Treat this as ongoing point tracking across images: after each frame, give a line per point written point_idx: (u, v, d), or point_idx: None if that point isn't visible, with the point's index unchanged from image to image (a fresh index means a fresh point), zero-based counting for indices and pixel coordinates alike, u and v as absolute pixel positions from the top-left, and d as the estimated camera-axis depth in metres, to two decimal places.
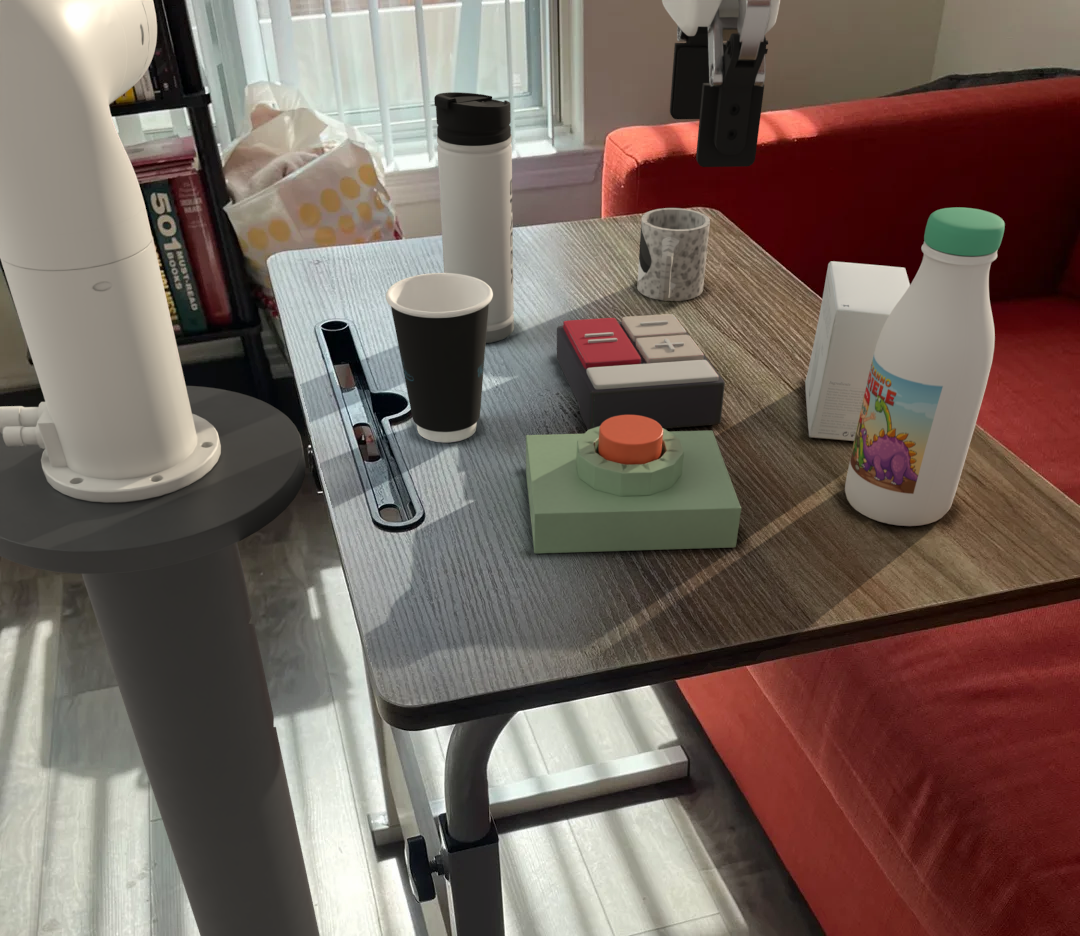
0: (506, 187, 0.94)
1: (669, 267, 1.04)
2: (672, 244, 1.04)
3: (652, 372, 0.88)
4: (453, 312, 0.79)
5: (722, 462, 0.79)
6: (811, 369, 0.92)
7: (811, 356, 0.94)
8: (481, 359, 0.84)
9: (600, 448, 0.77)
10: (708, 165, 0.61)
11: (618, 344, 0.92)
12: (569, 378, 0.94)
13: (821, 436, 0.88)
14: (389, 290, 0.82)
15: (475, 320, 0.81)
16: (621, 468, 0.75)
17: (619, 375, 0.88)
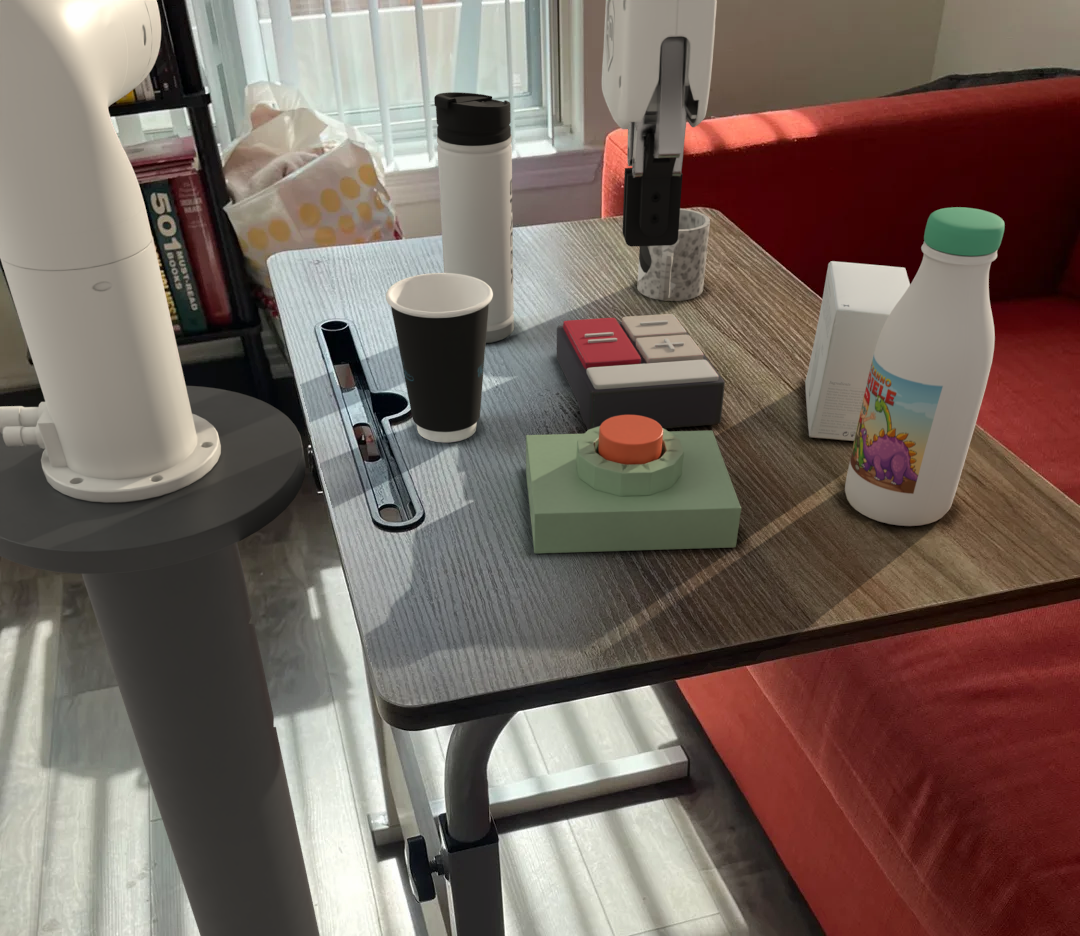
0: (506, 187, 0.94)
1: (669, 267, 1.04)
2: None
3: (652, 372, 0.88)
4: (453, 312, 0.79)
5: (722, 462, 0.79)
6: (811, 369, 0.92)
7: (811, 356, 0.94)
8: (481, 359, 0.84)
9: (600, 448, 0.77)
10: (635, 245, 0.67)
11: (618, 344, 0.92)
12: (569, 378, 0.94)
13: (821, 436, 0.88)
14: (389, 290, 0.82)
15: (475, 320, 0.81)
16: (621, 468, 0.75)
17: (619, 375, 0.88)
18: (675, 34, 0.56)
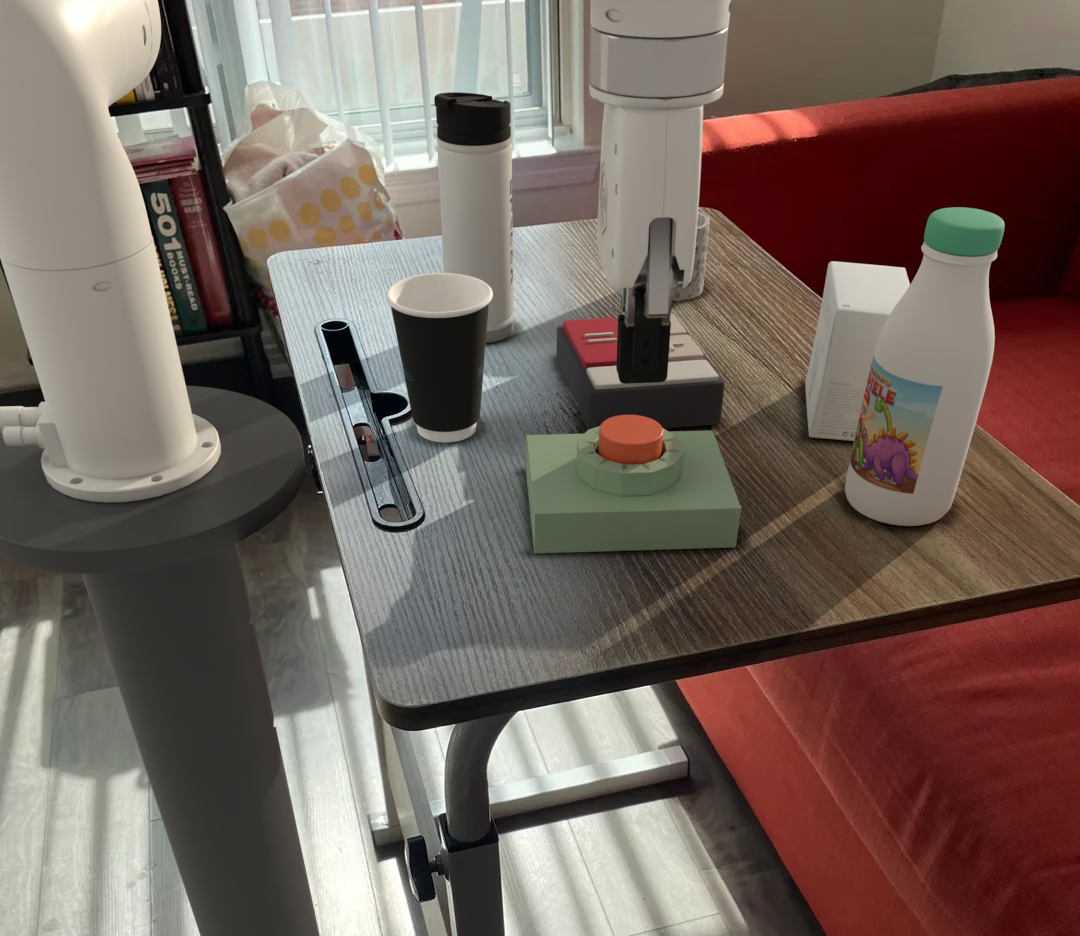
0: (506, 187, 0.94)
1: None
2: None
3: None
4: (453, 312, 0.79)
5: (722, 462, 0.79)
6: (811, 369, 0.92)
7: (811, 356, 0.94)
8: (481, 359, 0.84)
9: (600, 448, 0.77)
10: (628, 382, 0.73)
11: None
12: (569, 378, 0.94)
13: (821, 436, 0.88)
14: (389, 290, 0.82)
15: (475, 320, 0.81)
16: (621, 468, 0.75)
17: None
18: (662, 216, 0.62)
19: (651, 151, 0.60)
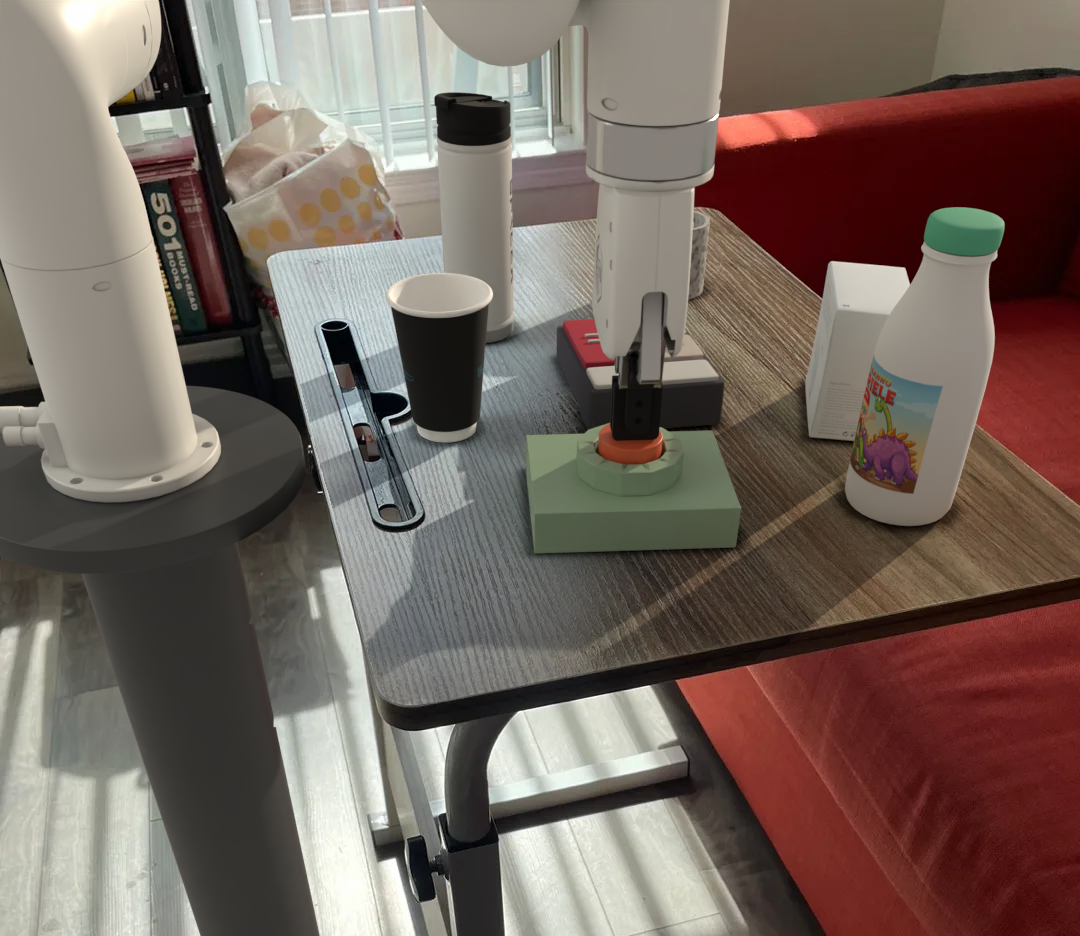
0: (506, 187, 0.94)
1: None
2: None
3: None
4: (453, 312, 0.79)
5: (722, 462, 0.79)
6: (811, 369, 0.92)
7: (811, 356, 0.94)
8: (481, 359, 0.84)
9: (600, 454, 0.77)
10: (621, 439, 0.76)
11: None
12: (569, 378, 0.94)
13: (821, 436, 0.88)
14: (389, 290, 0.82)
15: (475, 320, 0.81)
16: (621, 468, 0.75)
17: None
18: (655, 290, 0.65)
19: (644, 231, 0.63)
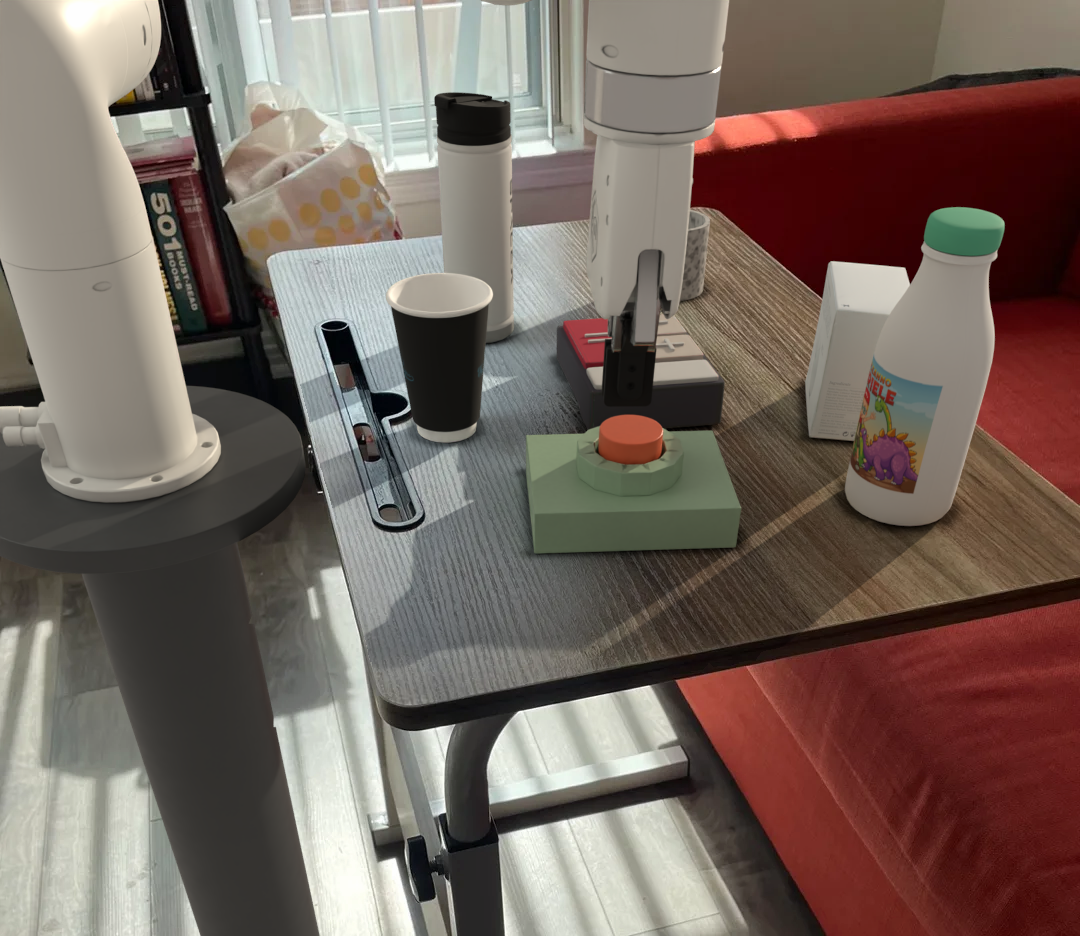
0: (506, 187, 0.94)
1: None
2: None
3: None
4: (453, 312, 0.79)
5: (722, 462, 0.79)
6: (811, 369, 0.92)
7: (811, 356, 0.94)
8: (481, 359, 0.84)
9: (600, 448, 0.77)
10: (613, 405, 0.74)
11: None
12: (569, 378, 0.94)
13: (821, 436, 0.88)
14: (389, 290, 0.82)
15: (475, 320, 0.81)
16: (621, 468, 0.75)
17: None
18: (651, 247, 0.63)
19: (642, 184, 0.61)
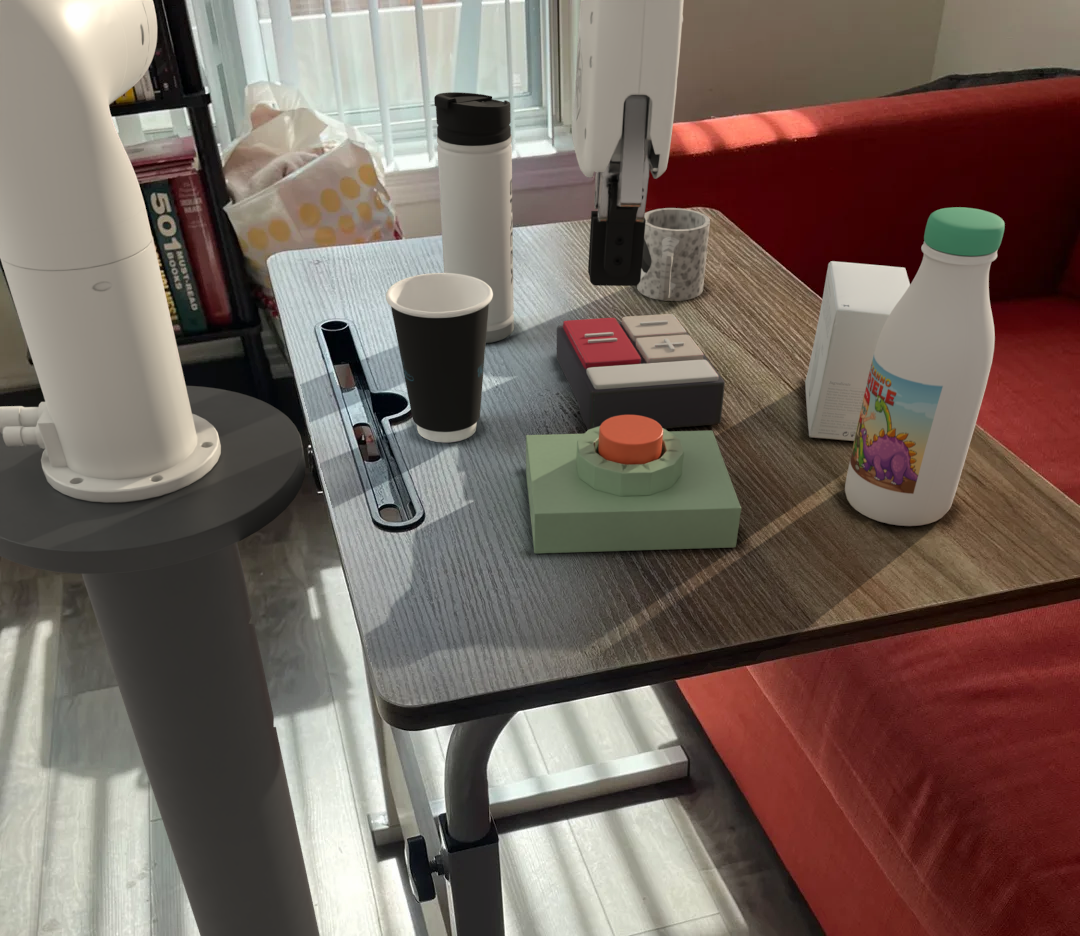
0: (506, 187, 0.94)
1: (669, 267, 1.04)
2: (672, 244, 1.04)
3: (652, 372, 0.88)
4: (453, 312, 0.79)
5: (722, 462, 0.79)
6: (811, 369, 0.92)
7: (811, 356, 0.94)
8: (481, 359, 0.84)
9: (600, 448, 0.77)
10: (599, 284, 0.70)
11: (618, 344, 0.92)
12: (569, 378, 0.94)
13: (821, 436, 0.88)
14: (389, 290, 0.82)
15: (475, 320, 0.81)
16: (621, 468, 0.75)
17: (619, 375, 0.88)
18: (638, 93, 0.59)
19: (628, 19, 0.57)
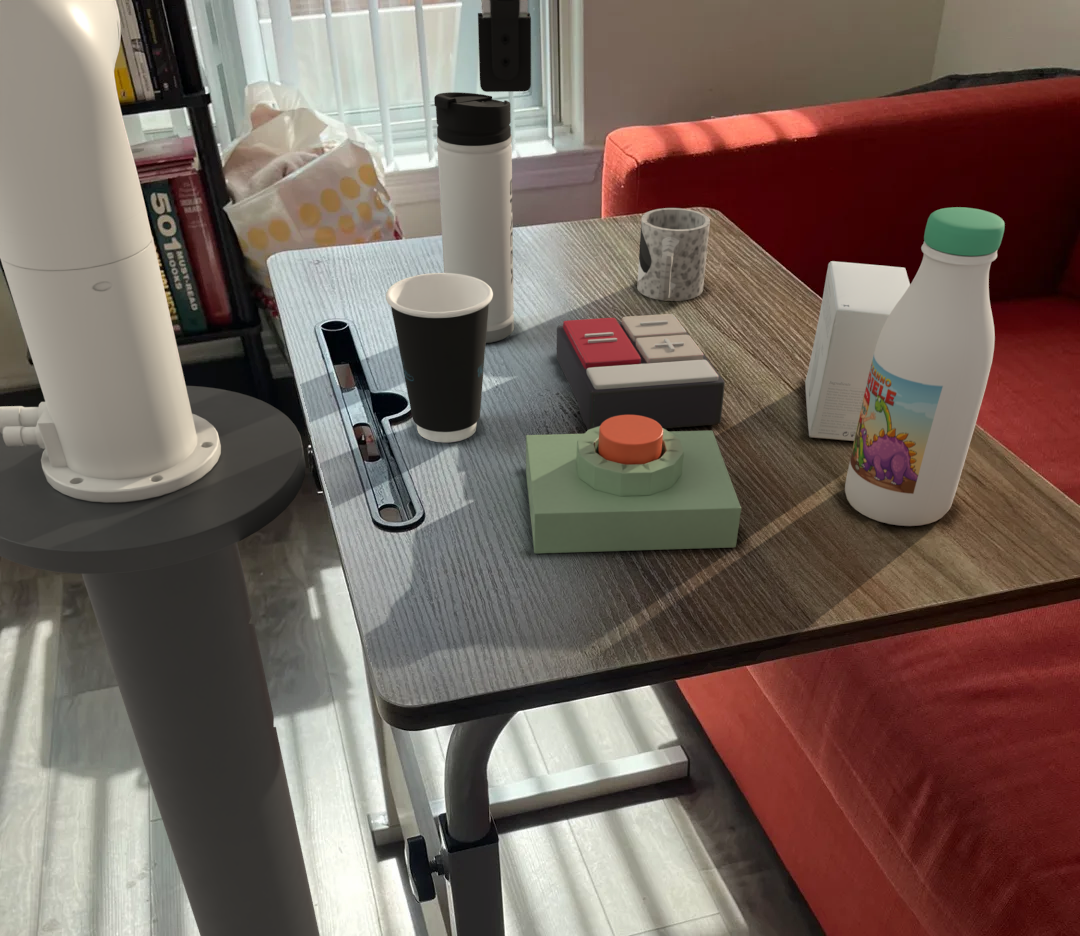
0: (506, 187, 0.94)
1: (669, 267, 1.04)
2: (672, 244, 1.04)
3: (652, 372, 0.88)
4: (453, 312, 0.79)
5: (722, 462, 0.79)
6: (811, 369, 0.92)
7: (811, 356, 0.94)
8: (481, 359, 0.84)
9: (600, 448, 0.77)
10: (490, 90, 0.70)
11: (618, 344, 0.92)
12: (569, 378, 0.94)
13: (821, 436, 0.88)
14: (389, 290, 0.82)
15: (475, 320, 0.81)
16: (621, 468, 0.75)
17: (619, 375, 0.88)
18: None
19: None
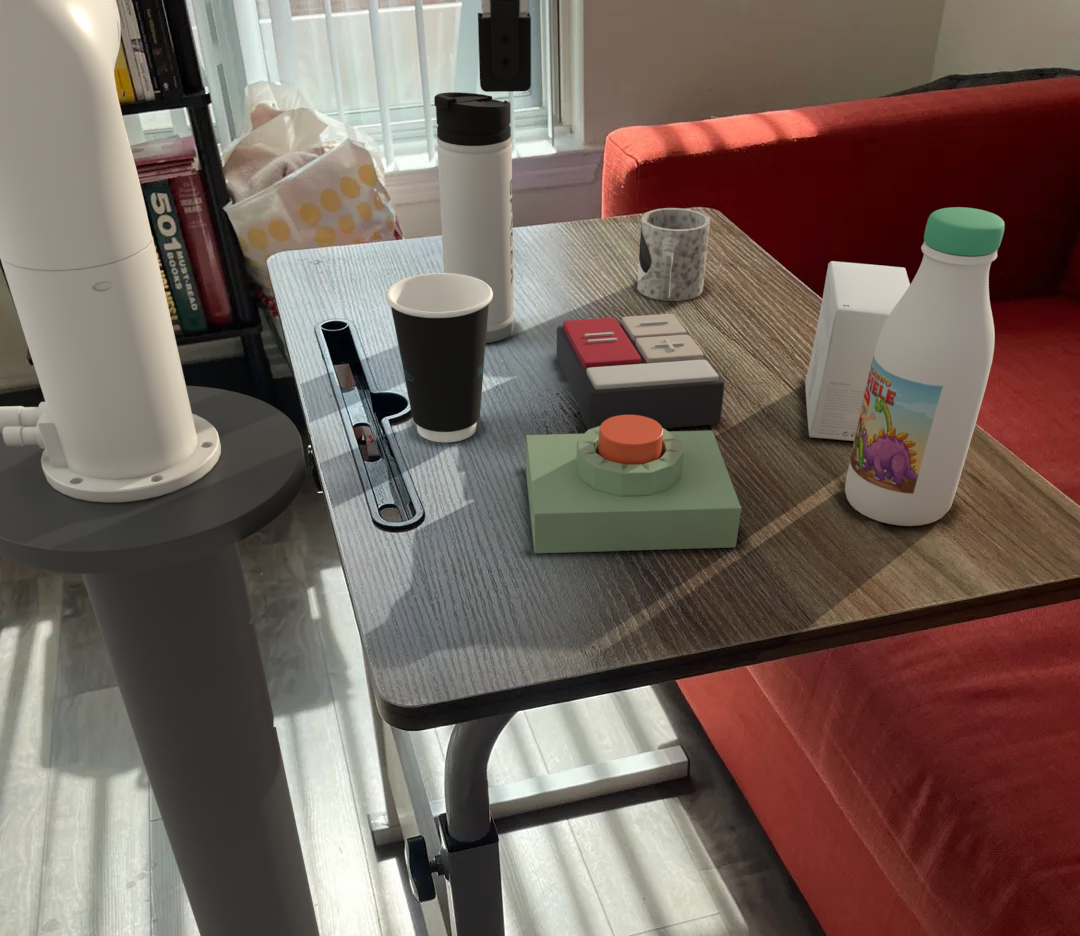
0: (506, 187, 0.94)
1: (669, 267, 1.04)
2: (672, 244, 1.04)
3: (652, 372, 0.88)
4: (453, 312, 0.79)
5: (722, 462, 0.79)
6: (811, 369, 0.92)
7: (811, 356, 0.94)
8: (481, 359, 0.84)
9: (600, 448, 0.77)
10: (490, 90, 0.70)
11: (618, 344, 0.92)
12: (569, 378, 0.94)
13: (821, 436, 0.88)
14: (389, 290, 0.82)
15: (475, 320, 0.81)
16: (621, 468, 0.75)
17: (619, 375, 0.88)
18: None
19: None
